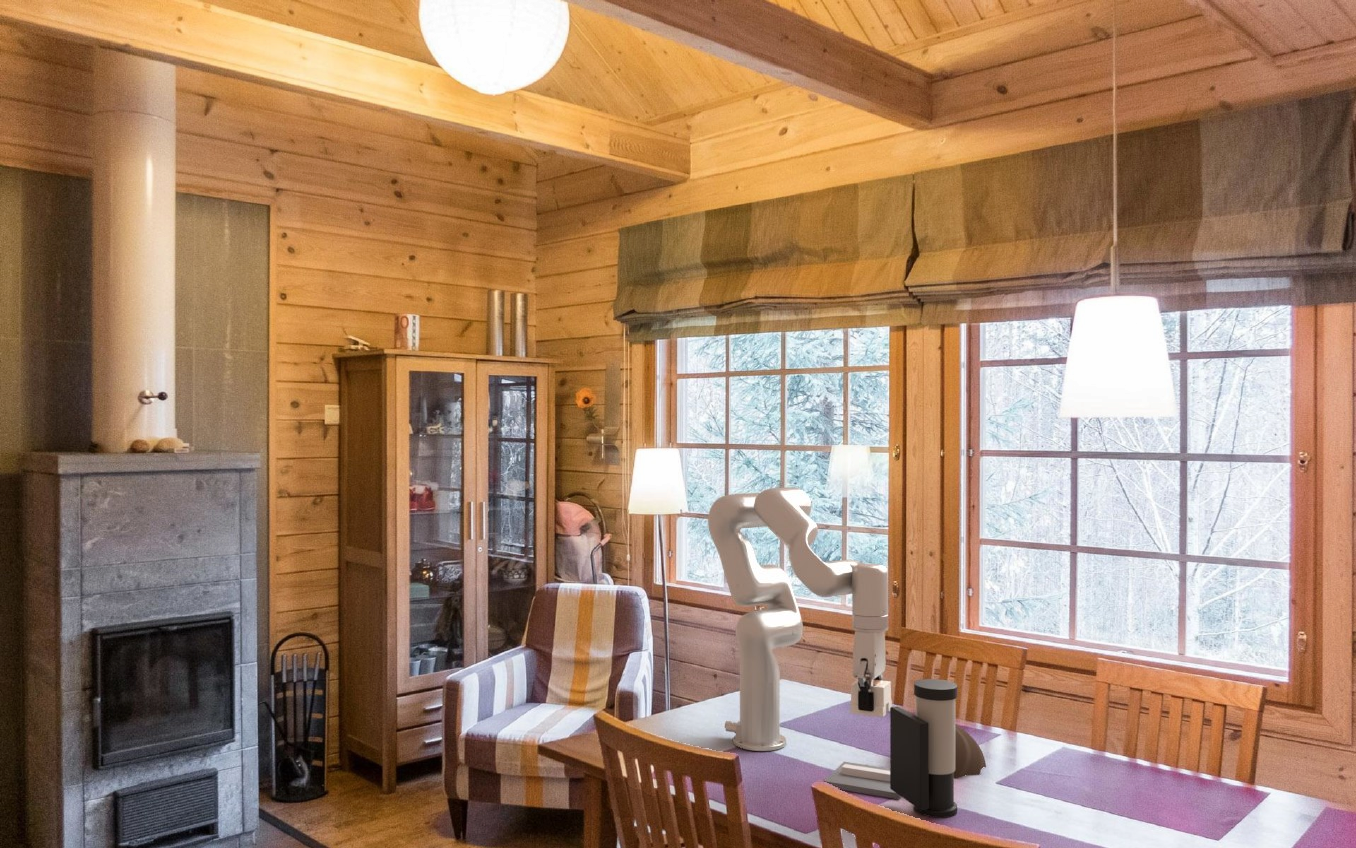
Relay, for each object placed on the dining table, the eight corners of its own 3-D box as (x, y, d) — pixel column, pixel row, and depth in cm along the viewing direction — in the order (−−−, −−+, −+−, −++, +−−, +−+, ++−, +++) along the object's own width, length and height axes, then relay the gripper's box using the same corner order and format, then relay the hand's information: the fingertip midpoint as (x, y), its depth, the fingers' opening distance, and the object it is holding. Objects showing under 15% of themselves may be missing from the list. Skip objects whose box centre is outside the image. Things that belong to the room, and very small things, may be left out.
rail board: (823, 786, 212) (824, 773, 212) (844, 767, 224) (844, 754, 224) (899, 799, 205) (899, 786, 205) (916, 778, 217) (916, 765, 217)
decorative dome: (988, 783, 215) (988, 736, 215) (893, 774, 220) (893, 728, 220) (984, 754, 234) (984, 711, 234) (897, 747, 239) (897, 705, 239)
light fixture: (971, 818, 195) (971, 690, 195) (920, 824, 192) (920, 694, 192) (938, 797, 206) (938, 675, 206) (889, 802, 203) (889, 679, 203)
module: (850, 713, 213) (850, 684, 214) (859, 705, 220) (859, 676, 220) (883, 717, 210) (882, 687, 210) (891, 709, 217) (891, 680, 217)
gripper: (864, 614, 225) (864, 695, 225) (841, 628, 209) (842, 714, 209) (897, 617, 222) (898, 698, 221) (877, 630, 206) (877, 718, 206)
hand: (871, 705), depth 215 cm, fingers closed on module, 7 cm apart
